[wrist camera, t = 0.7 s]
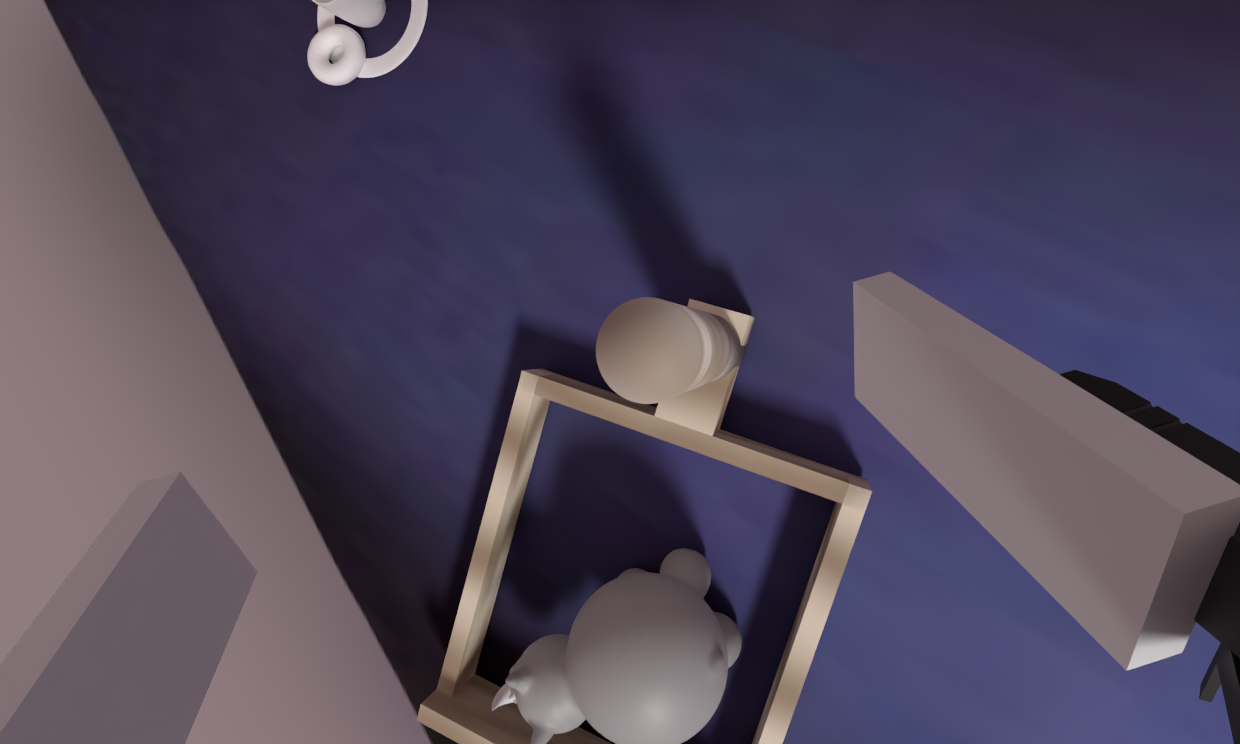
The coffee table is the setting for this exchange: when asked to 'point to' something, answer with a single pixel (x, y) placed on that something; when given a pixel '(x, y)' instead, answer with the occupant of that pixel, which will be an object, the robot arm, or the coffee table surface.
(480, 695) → the pull frame
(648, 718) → the chubby cartoon animal
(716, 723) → the coffee table surface
